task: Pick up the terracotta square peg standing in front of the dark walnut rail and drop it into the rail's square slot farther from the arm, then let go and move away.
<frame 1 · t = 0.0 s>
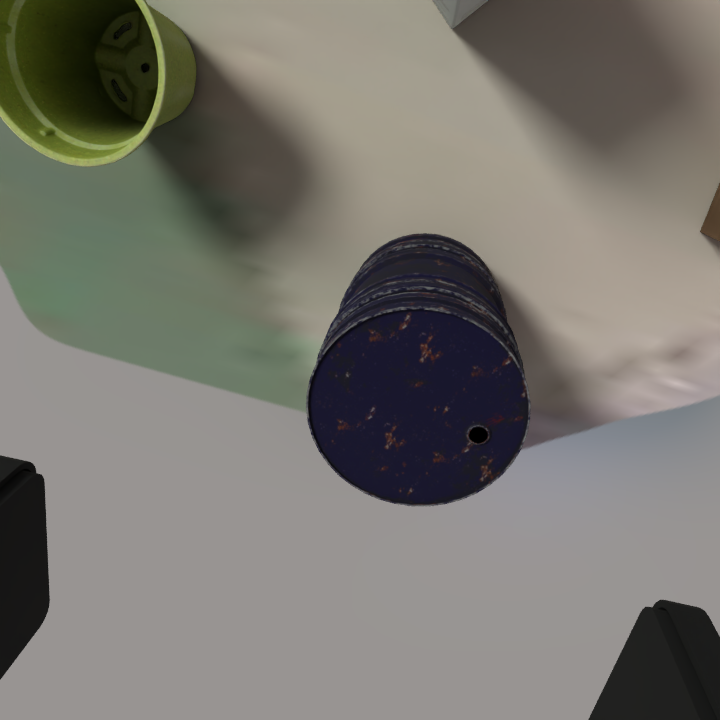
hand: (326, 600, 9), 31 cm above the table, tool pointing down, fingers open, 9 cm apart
plant pot: (149, 69, 36), on the table
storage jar: (422, 306, 40), on the table
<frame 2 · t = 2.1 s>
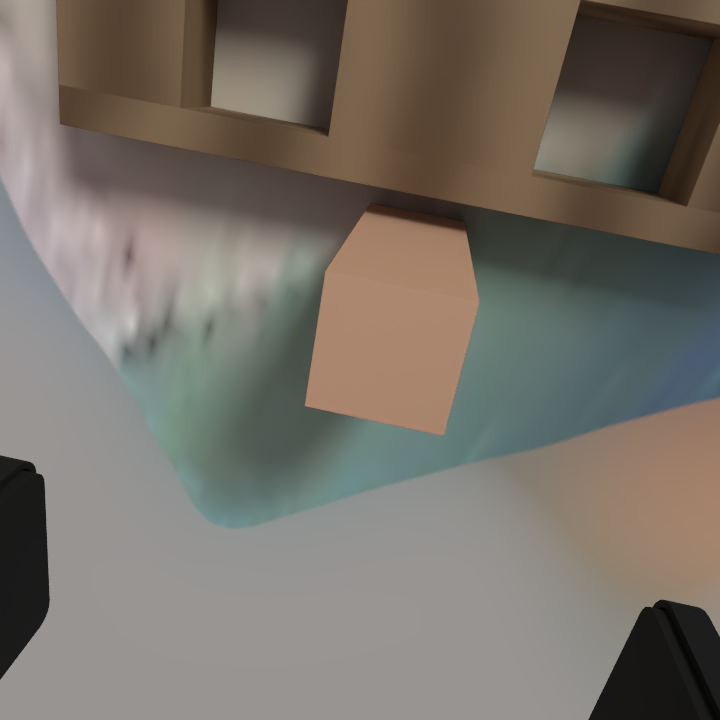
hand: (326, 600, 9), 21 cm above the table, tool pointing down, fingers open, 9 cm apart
rail: (446, 75, 26), on the table
peg: (407, 258, 29), on the table
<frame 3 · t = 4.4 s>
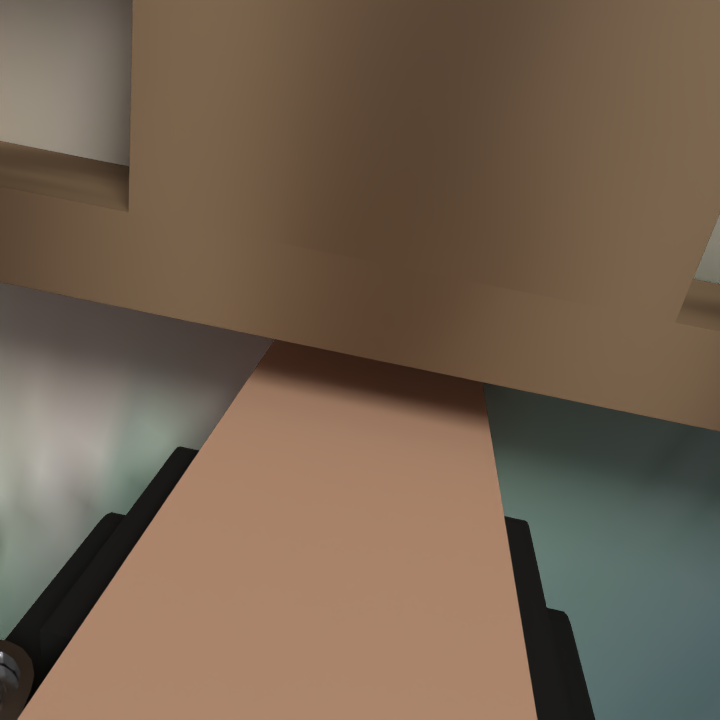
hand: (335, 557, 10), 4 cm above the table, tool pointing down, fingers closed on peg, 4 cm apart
rail: (442, 53, 11), on the table
peg: (362, 439, 14), on the table, touching gripper
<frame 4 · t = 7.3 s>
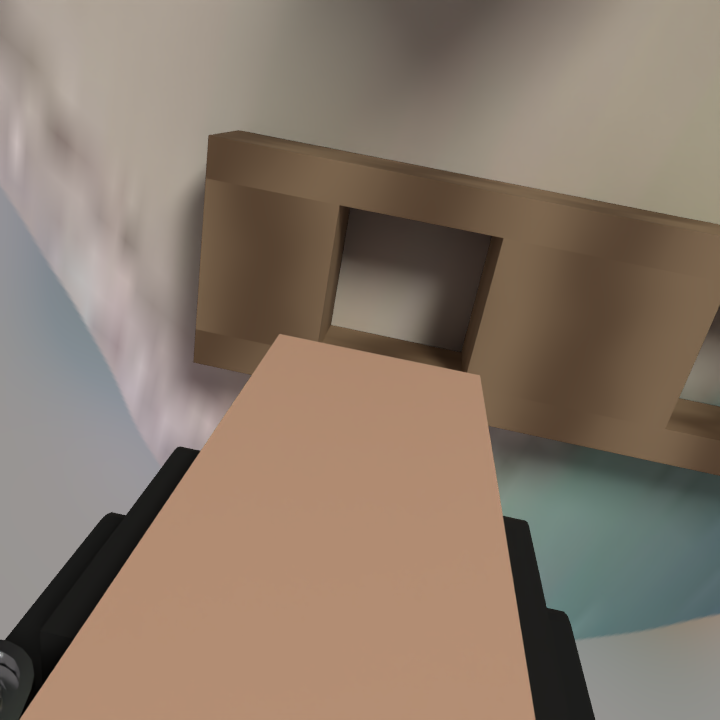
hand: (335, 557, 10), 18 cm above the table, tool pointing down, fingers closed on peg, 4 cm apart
rail: (570, 308, 26), on the table
peg: (361, 441, 14), point 14 cm above the table, touching gripper
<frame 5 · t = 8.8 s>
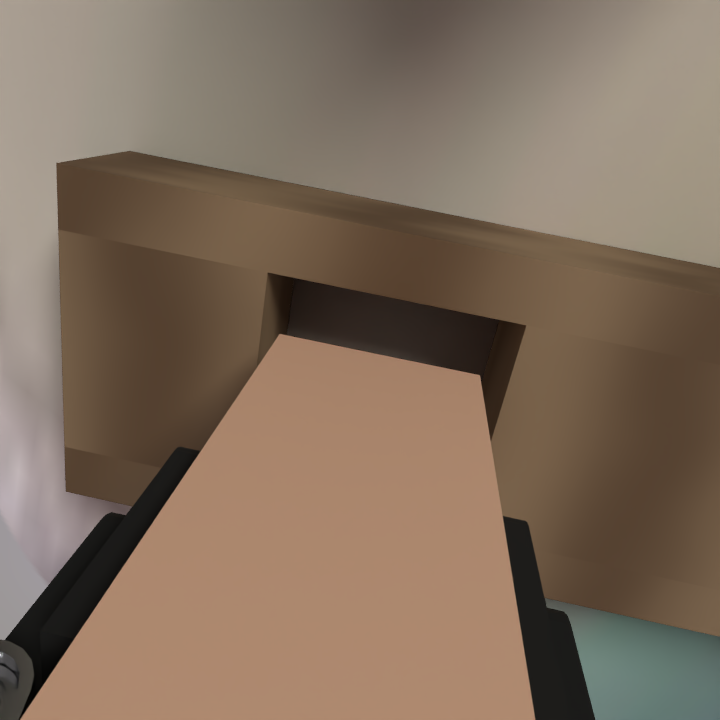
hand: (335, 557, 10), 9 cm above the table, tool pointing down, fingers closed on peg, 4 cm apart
rail: (616, 406, 18), on the table
peg: (361, 441, 14), point 5 cm above the table, touching gripper
when the fingers open (5 cm above the table, at t = 10.2 s): peg stays where it is, resting in rail.
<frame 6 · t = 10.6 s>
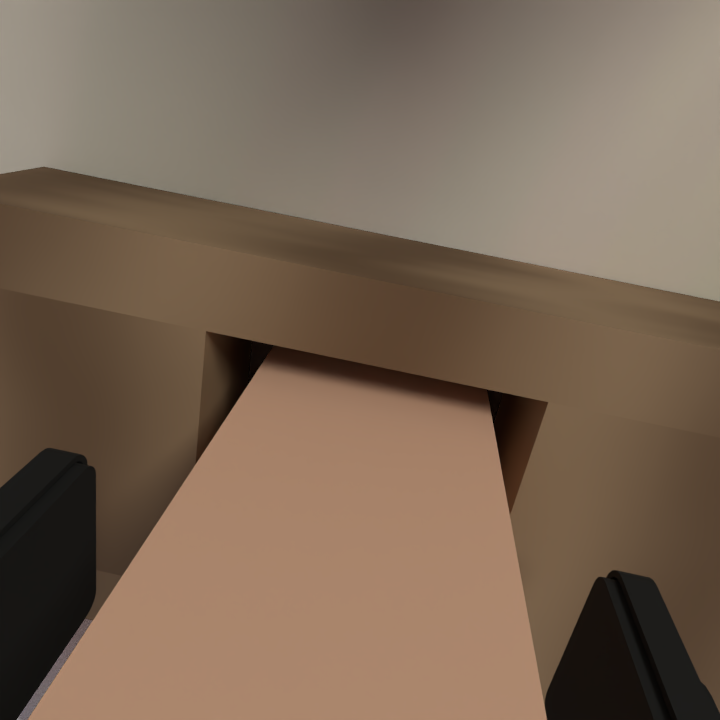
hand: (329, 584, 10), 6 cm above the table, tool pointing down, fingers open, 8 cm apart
rail: (652, 479, 15), on the table
peg: (369, 418, 15), resting in rail
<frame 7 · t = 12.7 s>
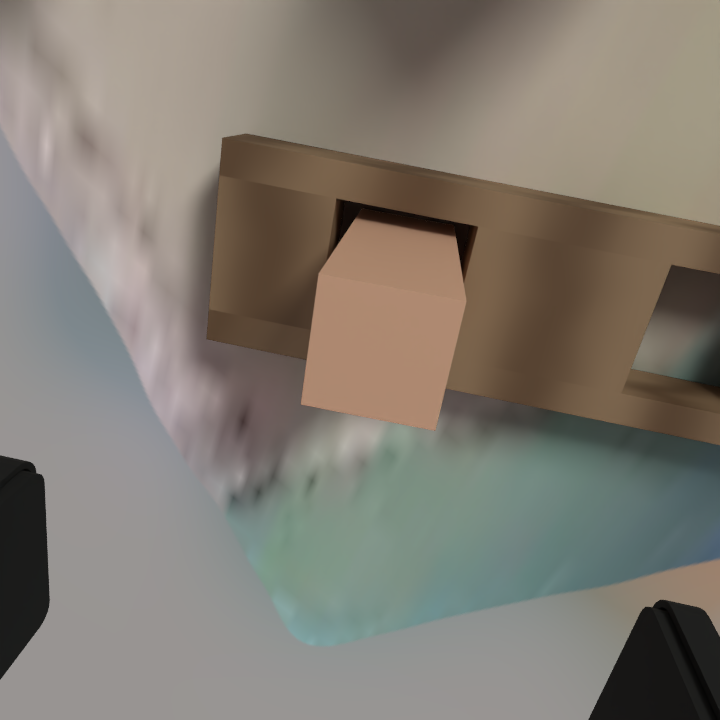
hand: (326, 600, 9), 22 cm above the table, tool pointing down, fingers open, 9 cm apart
rail: (539, 290, 30), on the table
peg: (399, 261, 30), resting in rail
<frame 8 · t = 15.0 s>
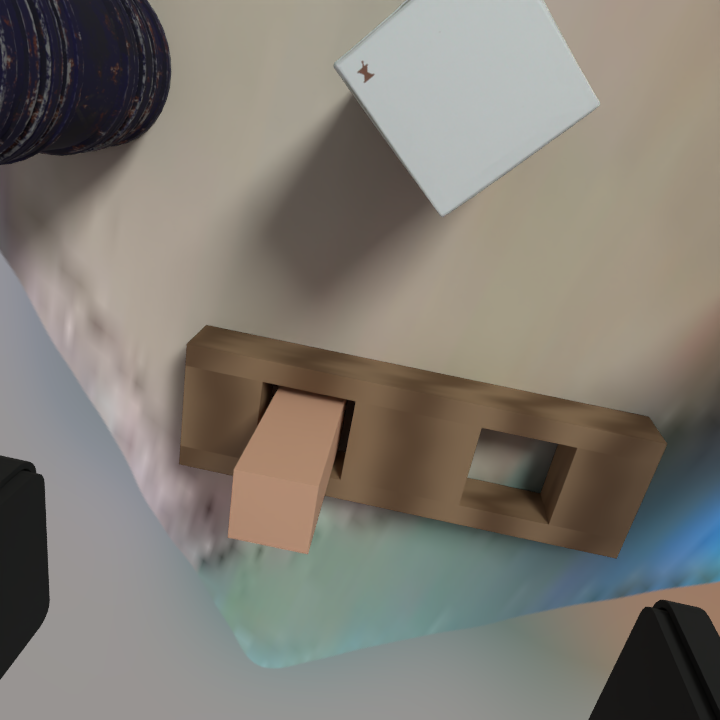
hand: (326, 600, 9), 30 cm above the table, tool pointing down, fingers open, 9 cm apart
supplement box: (454, 89, 34), on the table
rail: (410, 428, 43), on the table
peg: (313, 407, 43), resting in rail
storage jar: (92, 59, 36), on the table
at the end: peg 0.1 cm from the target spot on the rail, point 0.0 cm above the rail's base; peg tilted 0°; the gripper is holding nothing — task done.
